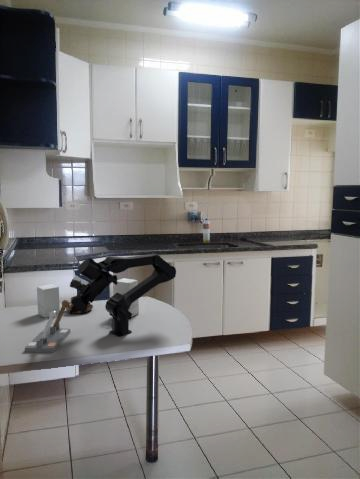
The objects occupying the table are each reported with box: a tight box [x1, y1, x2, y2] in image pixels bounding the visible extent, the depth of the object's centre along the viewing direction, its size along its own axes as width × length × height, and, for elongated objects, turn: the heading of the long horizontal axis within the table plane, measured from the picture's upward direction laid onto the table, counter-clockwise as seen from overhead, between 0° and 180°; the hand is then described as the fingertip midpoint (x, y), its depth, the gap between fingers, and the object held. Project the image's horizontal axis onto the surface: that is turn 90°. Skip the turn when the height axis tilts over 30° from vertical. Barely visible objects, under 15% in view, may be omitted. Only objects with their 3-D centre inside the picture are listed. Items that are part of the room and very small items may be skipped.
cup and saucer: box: [65, 295, 94, 314], centre depth 188 cm, size 12×12×6 cm
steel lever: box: [40, 311, 58, 342], centre depth 146 cm, size 3×3×13 cm
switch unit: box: [24, 323, 71, 353], centre depth 153 cm, size 10×19×4 cm, turn 177°
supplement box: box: [36, 283, 61, 318], centre depth 183 cm, size 7×7×13 cm
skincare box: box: [114, 278, 140, 318], centre depth 183 cm, size 8×7×16 cm
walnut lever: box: [52, 299, 70, 328], centre depth 158 cm, size 3×3×13 cm
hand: (70, 313), depth 158 cm, fingers closed
